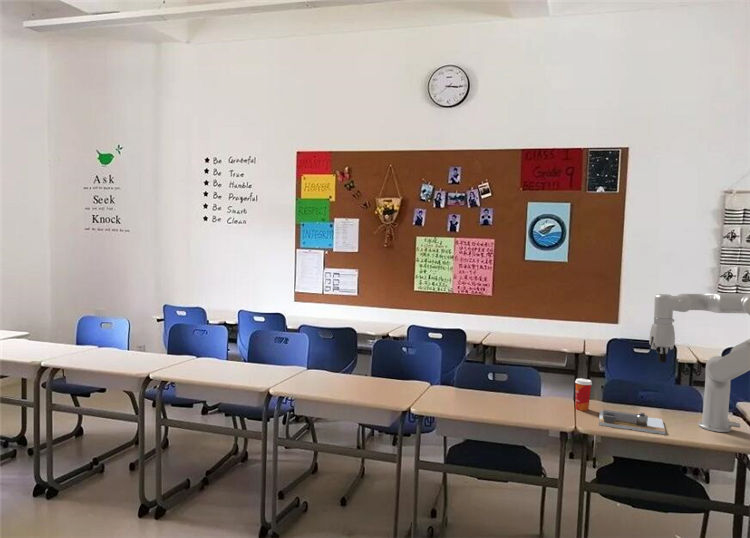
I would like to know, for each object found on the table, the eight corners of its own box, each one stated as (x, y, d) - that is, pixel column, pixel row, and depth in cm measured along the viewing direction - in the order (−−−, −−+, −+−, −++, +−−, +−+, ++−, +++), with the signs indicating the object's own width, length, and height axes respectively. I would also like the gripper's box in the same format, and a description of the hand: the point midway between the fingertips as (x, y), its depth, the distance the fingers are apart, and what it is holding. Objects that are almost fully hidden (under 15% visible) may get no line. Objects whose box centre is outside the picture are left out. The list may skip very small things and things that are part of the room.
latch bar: (647, 423, 255) (647, 412, 255) (647, 426, 251) (648, 415, 250) (603, 416, 262) (603, 406, 262) (602, 419, 258) (603, 409, 258)
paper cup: (575, 406, 284) (577, 377, 284) (591, 409, 280) (593, 380, 280) (571, 409, 278) (573, 380, 277) (588, 412, 274) (590, 383, 273)
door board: (661, 421, 264) (662, 412, 264) (665, 434, 246) (665, 425, 246) (599, 413, 274) (600, 404, 274) (598, 424, 256) (599, 415, 255)
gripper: (672, 320, 271) (671, 360, 272) (643, 320, 268) (641, 360, 269) (683, 322, 264) (682, 363, 264) (653, 322, 261) (652, 364, 262)
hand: (661, 361), depth 267 cm, fingers closed
